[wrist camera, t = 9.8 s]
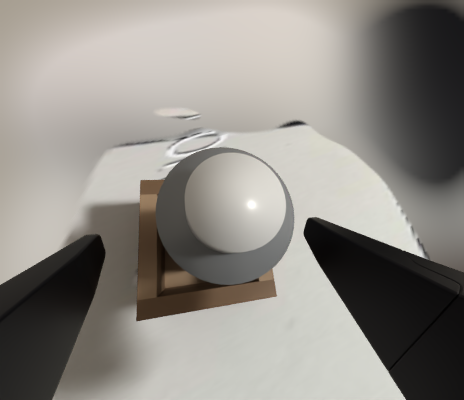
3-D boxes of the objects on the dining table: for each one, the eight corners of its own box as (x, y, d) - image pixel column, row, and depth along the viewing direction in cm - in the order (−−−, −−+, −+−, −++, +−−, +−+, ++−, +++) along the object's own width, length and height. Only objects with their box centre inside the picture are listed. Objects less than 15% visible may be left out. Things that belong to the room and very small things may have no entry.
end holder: (253, 286, 17) (276, 296, 12) (153, 302, 15) (136, 321, 10) (241, 197, 19) (257, 178, 15) (153, 201, 18) (140, 180, 13)
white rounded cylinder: (235, 233, 17) (331, 177, 6) (212, 277, 16) (277, 327, 4) (195, 210, 17) (208, 102, 5) (168, 252, 16) (104, 228, 4)
